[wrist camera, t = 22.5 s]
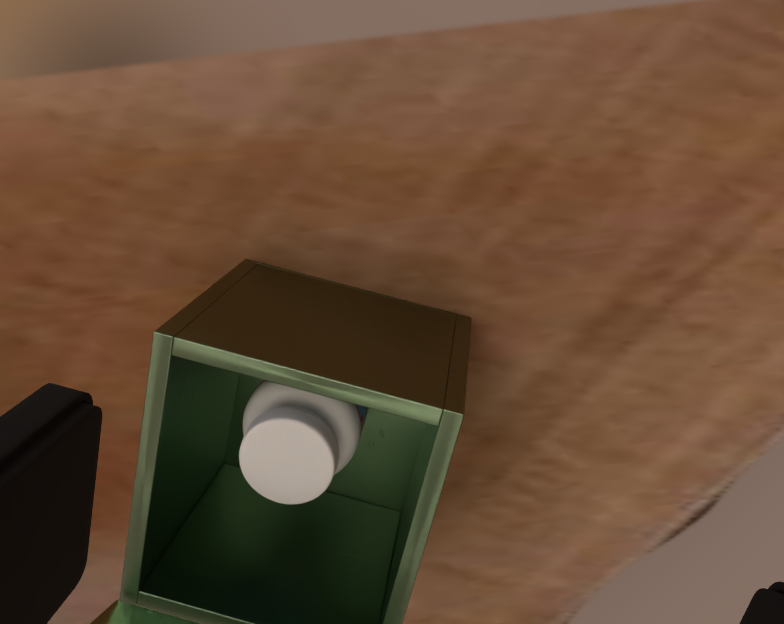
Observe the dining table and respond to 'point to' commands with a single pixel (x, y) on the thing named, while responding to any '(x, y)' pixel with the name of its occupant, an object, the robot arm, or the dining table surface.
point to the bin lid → (136, 615)
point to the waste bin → (348, 487)
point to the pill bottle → (296, 441)
